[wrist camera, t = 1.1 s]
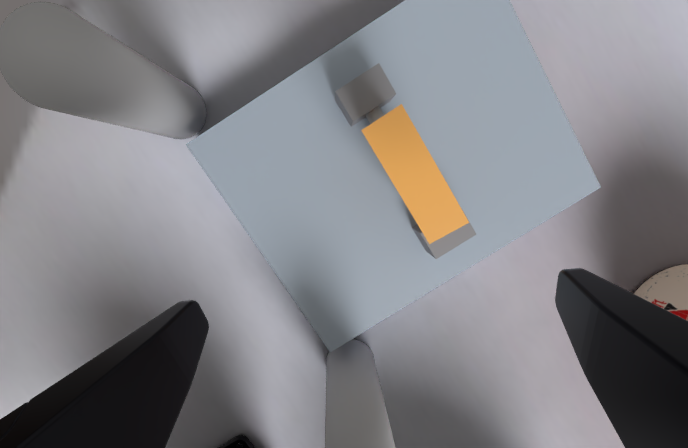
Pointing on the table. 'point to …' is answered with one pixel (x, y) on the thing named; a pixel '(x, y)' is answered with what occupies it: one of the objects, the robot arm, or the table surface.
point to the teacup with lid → (668, 290)
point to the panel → (371, 178)
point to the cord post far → (355, 400)
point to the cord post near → (92, 74)
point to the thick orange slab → (415, 174)
